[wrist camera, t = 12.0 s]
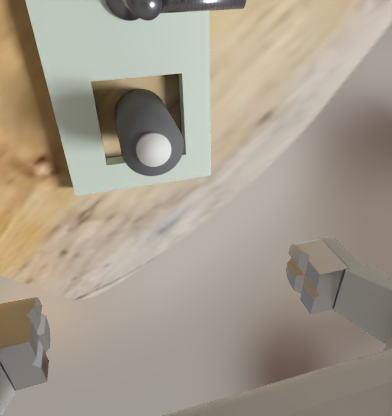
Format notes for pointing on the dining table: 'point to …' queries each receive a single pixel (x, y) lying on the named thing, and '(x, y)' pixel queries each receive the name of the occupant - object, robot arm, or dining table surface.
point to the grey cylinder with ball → (147, 133)
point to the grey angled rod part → (166, 7)
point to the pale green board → (120, 69)
